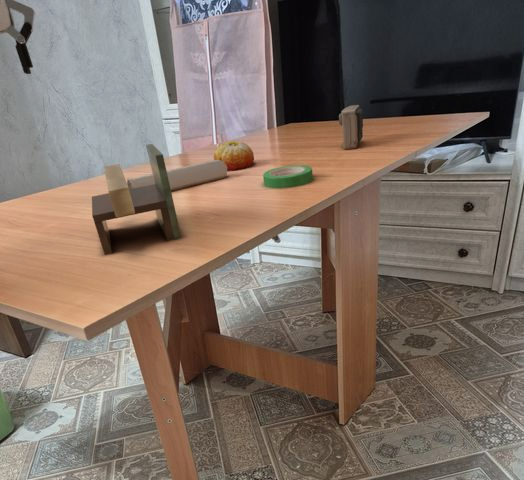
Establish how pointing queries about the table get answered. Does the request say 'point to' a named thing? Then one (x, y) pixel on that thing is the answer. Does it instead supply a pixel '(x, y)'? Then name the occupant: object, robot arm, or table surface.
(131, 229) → the table surface
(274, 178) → the tape roll
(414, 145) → the table surface
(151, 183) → the tube
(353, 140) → the camera
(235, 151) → the fruit
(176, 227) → the miniature wooden chair
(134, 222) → the table surface
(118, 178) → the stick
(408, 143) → the table surface
